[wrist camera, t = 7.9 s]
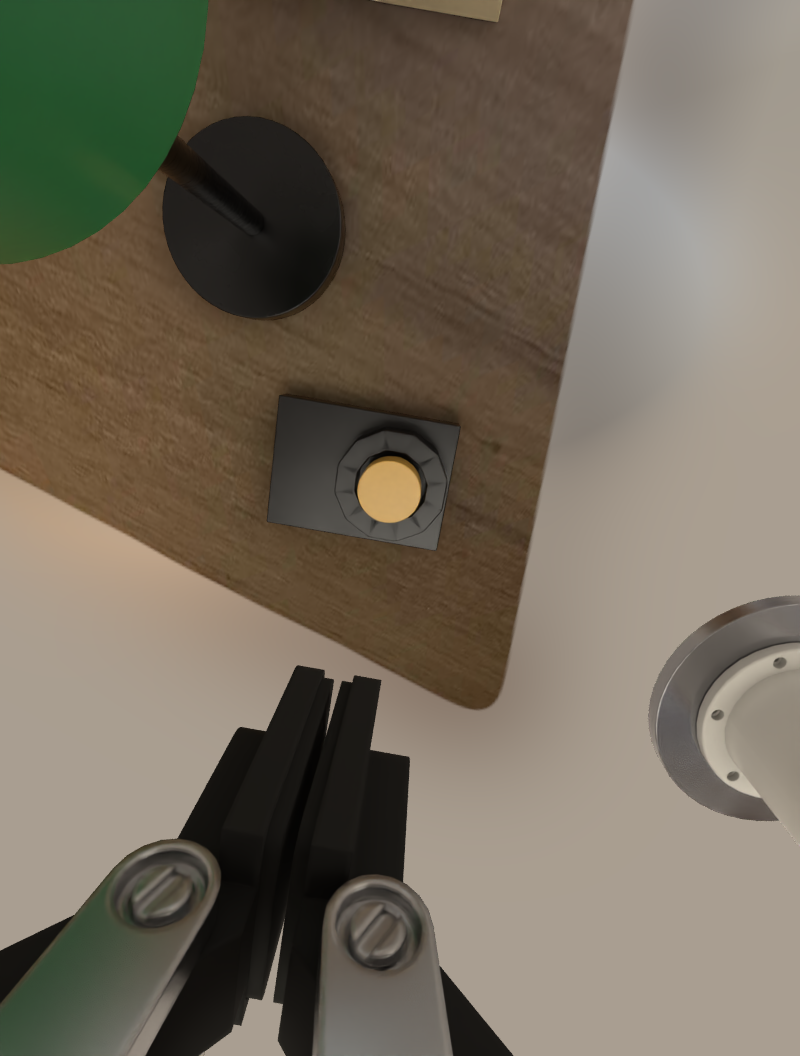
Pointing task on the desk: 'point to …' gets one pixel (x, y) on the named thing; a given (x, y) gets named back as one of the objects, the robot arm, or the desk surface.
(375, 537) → the button base
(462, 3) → the dimmer panel
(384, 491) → the button
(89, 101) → the desk lamp
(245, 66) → the desk surface
